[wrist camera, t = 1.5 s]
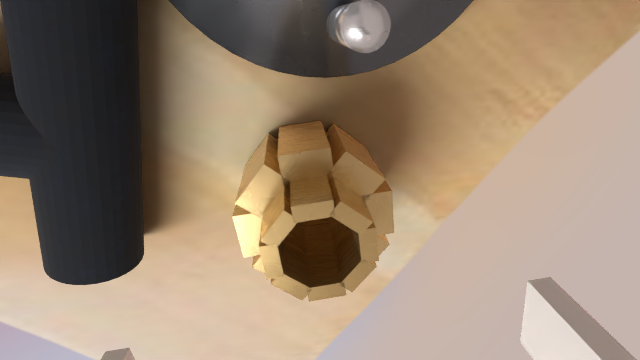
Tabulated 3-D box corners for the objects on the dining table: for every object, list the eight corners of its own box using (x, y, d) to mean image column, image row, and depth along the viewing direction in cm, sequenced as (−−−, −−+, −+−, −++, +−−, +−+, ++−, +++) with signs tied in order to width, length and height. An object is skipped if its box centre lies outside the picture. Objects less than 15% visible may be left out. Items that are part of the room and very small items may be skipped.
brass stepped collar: (232, 133, 21) (207, 188, 14) (366, 113, 21) (405, 157, 14) (260, 245, 24) (250, 333, 18) (375, 226, 25) (410, 306, 18)
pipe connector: (-131, 275, 17) (-284, -103, 11) (-43, 219, 22) (-117, -67, 16) (125, 289, 19) (107, -28, 13) (155, 235, 24) (152, -16, 18)
